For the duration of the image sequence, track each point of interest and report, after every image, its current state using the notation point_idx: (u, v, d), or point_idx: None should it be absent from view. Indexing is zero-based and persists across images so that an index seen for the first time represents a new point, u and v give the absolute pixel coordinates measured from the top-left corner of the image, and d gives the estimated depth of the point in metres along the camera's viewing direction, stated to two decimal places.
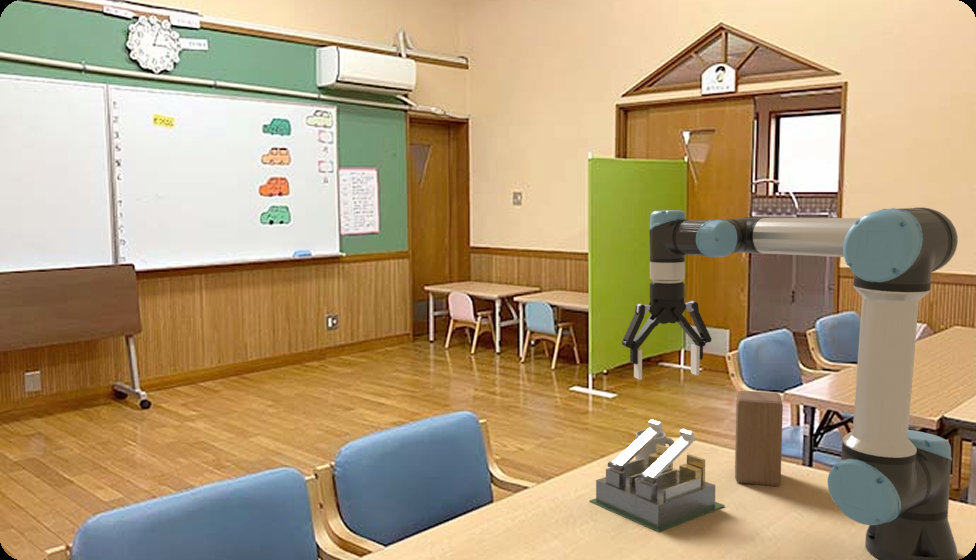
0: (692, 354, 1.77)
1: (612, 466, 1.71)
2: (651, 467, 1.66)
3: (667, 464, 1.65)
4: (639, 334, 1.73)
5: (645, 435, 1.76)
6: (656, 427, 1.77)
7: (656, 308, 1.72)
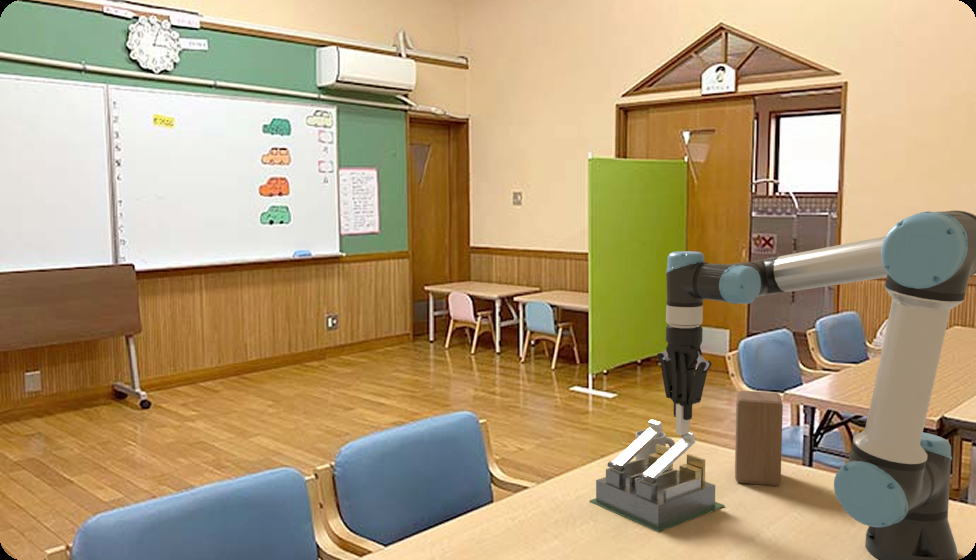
0: None
1: (612, 466, 1.71)
2: (651, 467, 1.66)
3: (667, 465, 1.65)
4: None
5: (645, 435, 1.76)
6: (656, 427, 1.77)
7: (669, 349, 1.69)
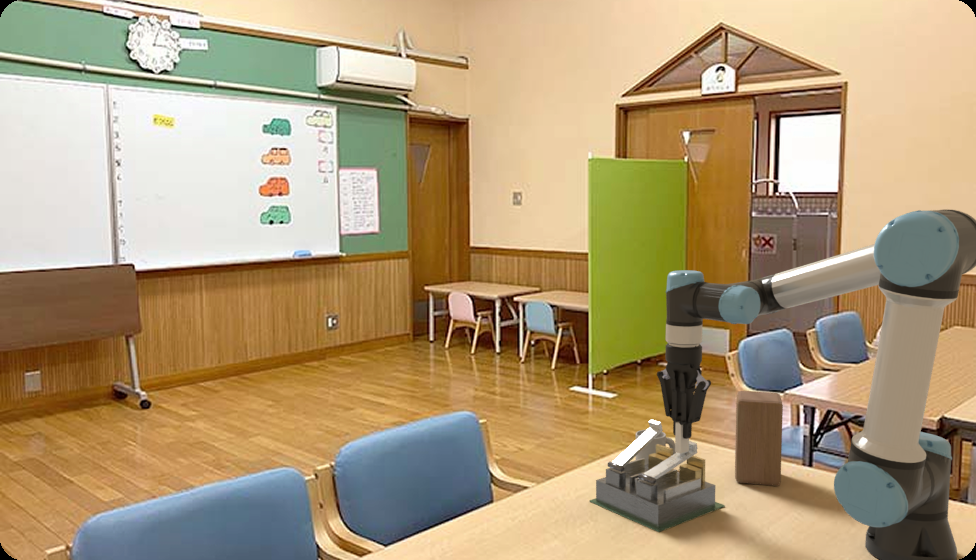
0: None
1: (612, 466, 1.71)
2: (652, 469, 1.66)
3: (668, 468, 1.65)
4: None
5: (645, 435, 1.76)
6: (656, 427, 1.77)
7: (669, 368, 1.70)
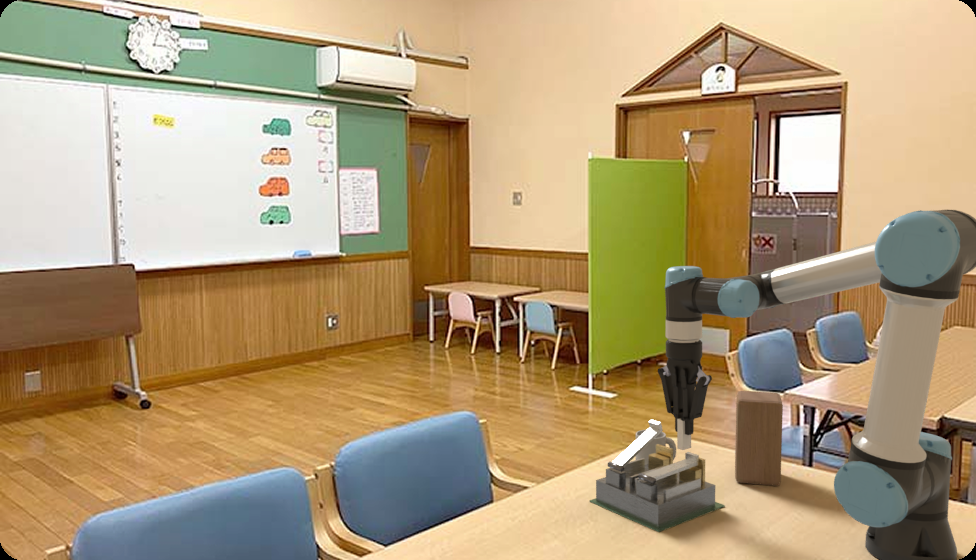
0: None
1: (612, 466, 1.71)
2: (652, 471, 1.66)
3: (669, 473, 1.66)
4: None
5: (645, 435, 1.76)
6: (656, 427, 1.77)
7: (669, 364, 1.69)
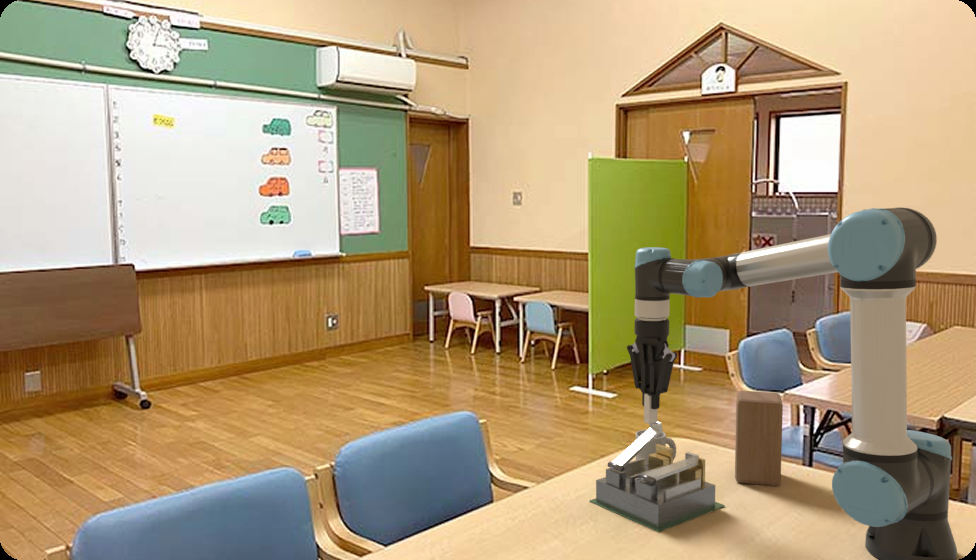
0: None
1: (612, 466, 1.71)
2: (652, 471, 1.66)
3: (669, 473, 1.66)
4: None
5: (645, 435, 1.76)
6: (656, 427, 1.77)
7: (638, 341, 1.76)
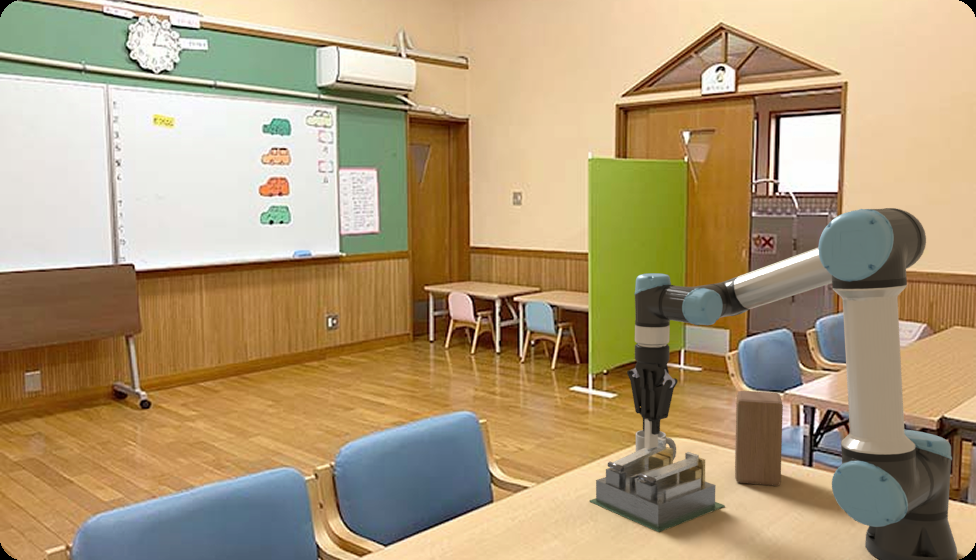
0: None
1: (612, 465, 1.71)
2: (652, 471, 1.66)
3: (669, 473, 1.66)
4: None
5: None
6: (660, 444, 1.78)
7: (638, 367, 1.77)
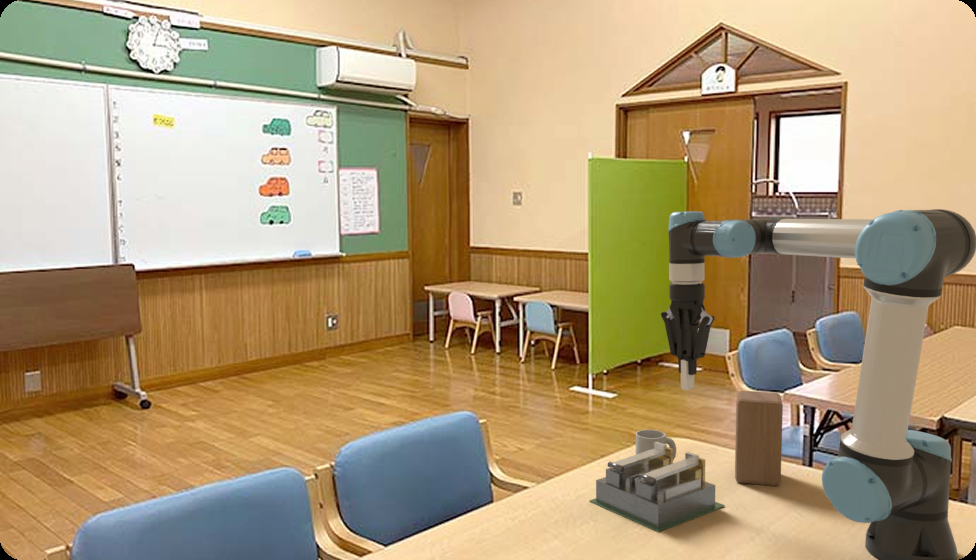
0: None
1: (612, 465, 1.71)
2: (652, 471, 1.66)
3: (669, 473, 1.66)
4: None
5: (648, 452, 1.78)
6: (661, 449, 1.78)
7: (673, 307, 1.75)
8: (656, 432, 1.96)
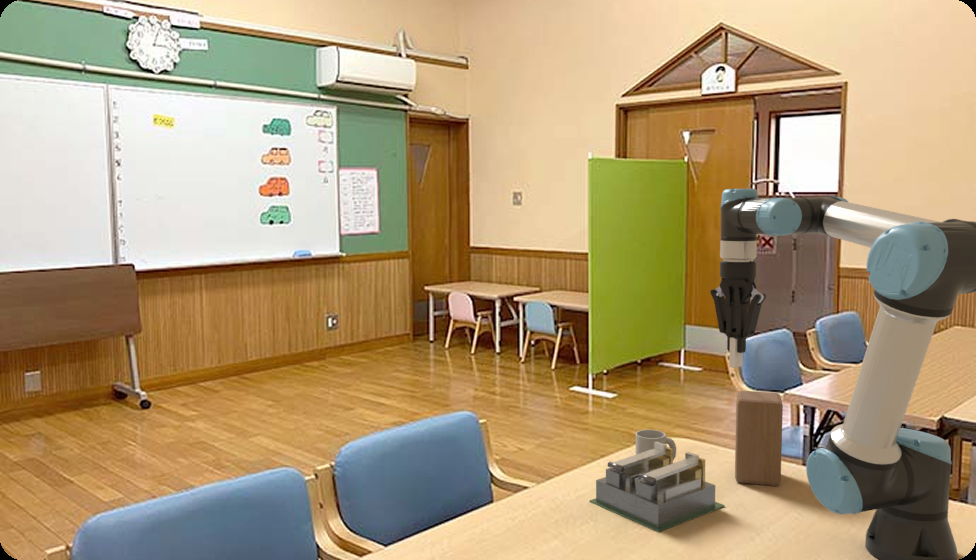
0: None
1: (612, 465, 1.71)
2: (652, 471, 1.66)
3: (669, 473, 1.66)
4: None
5: (648, 452, 1.78)
6: (661, 449, 1.78)
7: (723, 285, 1.74)
8: (656, 432, 1.96)
